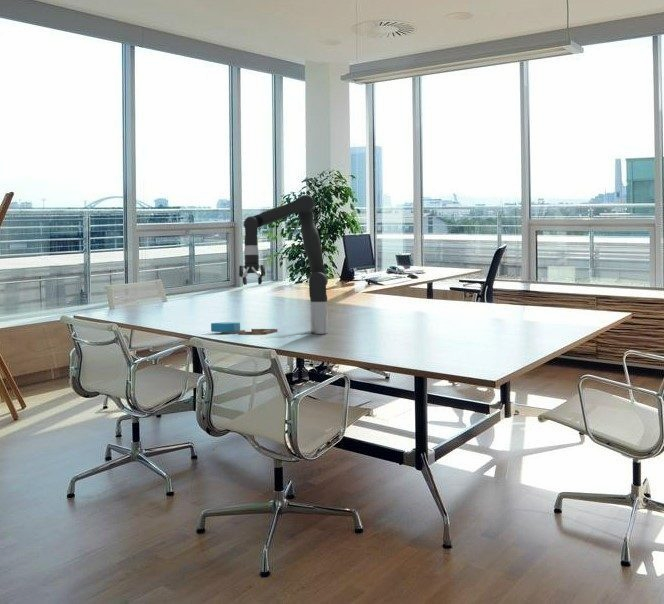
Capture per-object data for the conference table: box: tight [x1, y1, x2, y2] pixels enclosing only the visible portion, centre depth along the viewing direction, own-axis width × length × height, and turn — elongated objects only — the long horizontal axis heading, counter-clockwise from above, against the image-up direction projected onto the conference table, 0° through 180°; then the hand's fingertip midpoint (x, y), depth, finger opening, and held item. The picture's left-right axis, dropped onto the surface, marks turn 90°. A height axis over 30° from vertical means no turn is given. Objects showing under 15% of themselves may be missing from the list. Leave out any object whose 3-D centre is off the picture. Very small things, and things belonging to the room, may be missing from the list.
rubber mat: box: [220, 329, 246, 335], centre depth 396 cm, size 8×14×1 cm, turn 165°
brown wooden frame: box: [238, 328, 278, 336], centre depth 392 cm, size 15×20×2 cm
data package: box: [210, 321, 241, 333], centre depth 395 cm, size 12×4×12 cm
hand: (252, 284), depth 393 cm, fingers open, 8 cm apart
